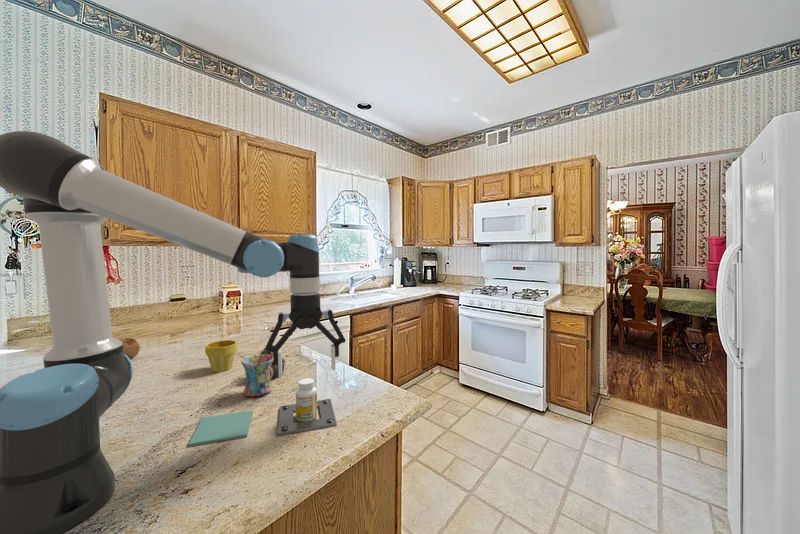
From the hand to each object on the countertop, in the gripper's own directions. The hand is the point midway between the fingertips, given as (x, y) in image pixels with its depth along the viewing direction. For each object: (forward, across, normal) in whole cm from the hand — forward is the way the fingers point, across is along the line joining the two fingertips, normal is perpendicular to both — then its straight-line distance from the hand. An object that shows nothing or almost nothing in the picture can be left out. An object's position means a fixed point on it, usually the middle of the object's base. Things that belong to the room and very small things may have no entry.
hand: (307, 372), depth 84 cm
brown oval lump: (+11, +70, -71) cm, 100 cm away
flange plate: (+12, 0, 0) cm, 12 cm away
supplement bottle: (+12, 0, 0) cm, 12 cm away
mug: (+12, +14, -19) cm, 26 cm away
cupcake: (+12, +12, -33) cm, 37 cm away
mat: (+12, +20, -1) cm, 24 cm away
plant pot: (+12, +30, -46) cm, 56 cm away
